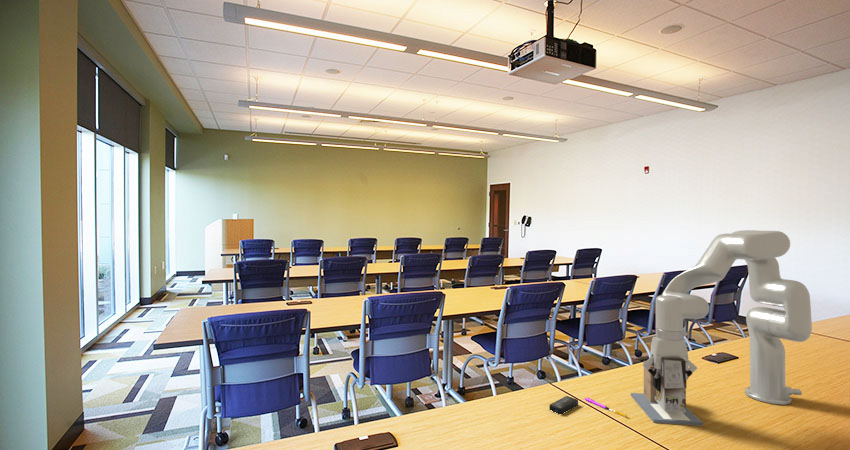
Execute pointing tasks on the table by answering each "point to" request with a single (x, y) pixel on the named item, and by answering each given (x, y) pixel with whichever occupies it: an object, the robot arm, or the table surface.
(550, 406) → the multiport hub
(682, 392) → the coffee box
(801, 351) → the table surface
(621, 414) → the magenta and yellow rod
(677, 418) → the board
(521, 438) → the table surface
